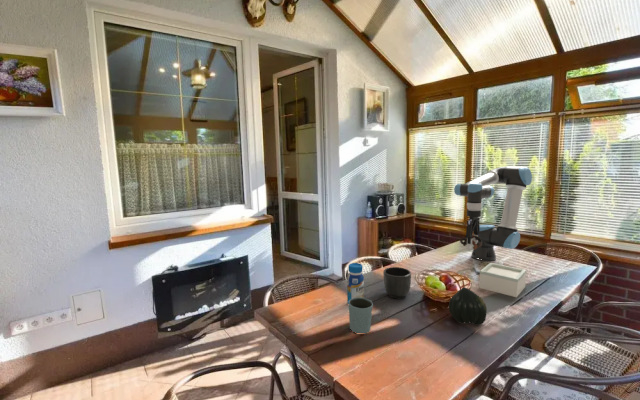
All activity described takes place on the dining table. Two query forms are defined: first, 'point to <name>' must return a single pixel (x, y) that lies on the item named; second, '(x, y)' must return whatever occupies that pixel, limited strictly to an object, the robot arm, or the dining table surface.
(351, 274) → the beverage bottle
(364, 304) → the green tumbler cup
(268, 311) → the dining table surface
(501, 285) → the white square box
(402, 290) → the planter
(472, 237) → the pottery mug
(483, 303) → the squash
